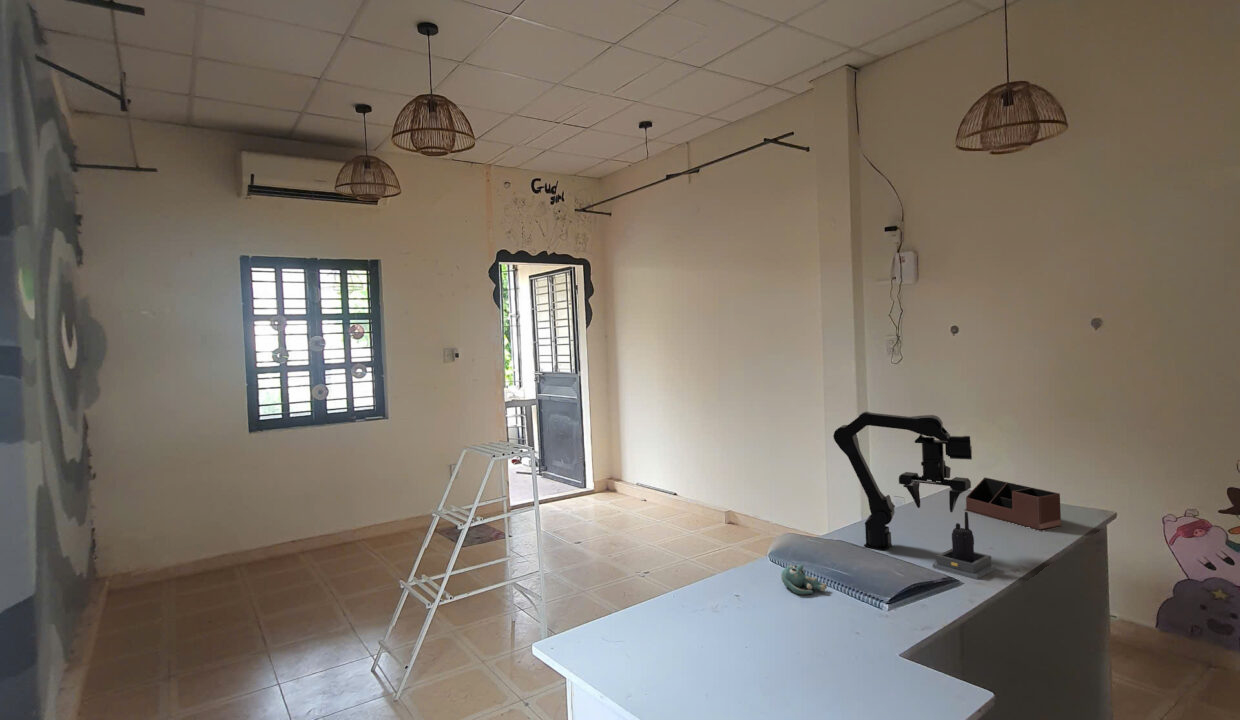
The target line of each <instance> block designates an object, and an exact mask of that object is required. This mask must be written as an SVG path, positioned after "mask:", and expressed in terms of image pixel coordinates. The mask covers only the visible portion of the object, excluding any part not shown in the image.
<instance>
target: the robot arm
mask: <svg viewBox="0 0 1240 720" xmlns="http://www.w3.org/2000/svg"><path fill="white" fill-rule="evenodd" d="M858 415H859V416H858V417H856V418H855V419H854V420H852V421H851V422H850V423H848V424H843V425H841V426H840V427H838V428H837V429H835V431H834V432H833V440H834V442H835V443H836V444H837V446H838V447H839V449H840V450H841V451H842V452H843V453H844V454H845V455H846V457H847V458H848V460H849V462H850V464H851V466H852V469H853V471H854V472H855V475H856V476H857V478H858V480H859V482H860V485H861V486H862V489H863V491H864V493H865V495H866V497H867V502H868V507H869V511H870V515H869V516H868V517H867V519H866V521H865V522H864V525H865V526H864V527H865V529H864V530H865V544H863V547H864V546H865V548H870V549H876V550H880V551H885V550H887V549H889V548H890V547H892V546H893V543H892V532H891V531H890V526H887V525H889V524H890V523H891V521H892V520H893V518H894V515H895V513H896V512H895V508H896V505H894V502H893V501H892V500H891V495H890V494H888V495H886V496H885V495H884V494H883V493H882V491H881V490H880V488H879V486H878V484H877V482H876V480H875V478H874V475H873V474H872V472H871V469H870V468H869V465H868V464H867V462H866V459H865V457H864V455H863V453H862V451H861V448H860V443H859V442H860V441H859V438H858V434H857V433H859V432H860V431H861V430H863V429H865V427H868V426H871V427H879V428H880V427H881V428H889V429H898V430H904V431H905V430H906V431H910V432H913V433H915V434H918V435H919V436H918V437H917V438H916V439H914V443H915V444H921V451H922V452H921V456H922V457H921V458H922V459H921V460H922V461H921V462H920V464H921V465H920V466H922V475H921V476H920V475H919V474H918V472H911V471H905V472H904V473H901V474H900V475H899V476H898V484H899V485H903V488H906V489H907V491H908V492H909V494H910V496H911V497H912V499H913V502H914V503H915V505H916V507H917V508H918V509H921V496H920V485H921V484H928V485H938V486H945V487H949V488H950V490H949V491H948V496H949V498H948V501H949V512H950V513H953V512H954V509H955V506H956V503H957V501H958V498H959V496H960V495H961V494H962V493H964V492H966V491H968V490H969V489H971V488H972V481H971V480H970V479H969V478H968V477H958V476H955V477H954V478H951V470H952V467H950V466H947V465H946V461H945V460H944V459H945V458H944V457H945V456H947V457H949V458H950V459H952V460H969V461H970V460H973V456H972V455H973V450H972V448H973V447H972V445H971V443H972V442H971V436H970V435H962V436H959V435H956V436H955V435H951V434H950V433H949V431H947V429H945V427H944V425H943V421H942V419H941V418H940V417H939V416H937V415H935V414H926V415H925V414H924V415H915V416H906V415H905V416H903V415H897V414H886V413H876V412H870V411H864V412H862V413H860V414H858ZM944 445H945V456H944Z"/></svg>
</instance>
